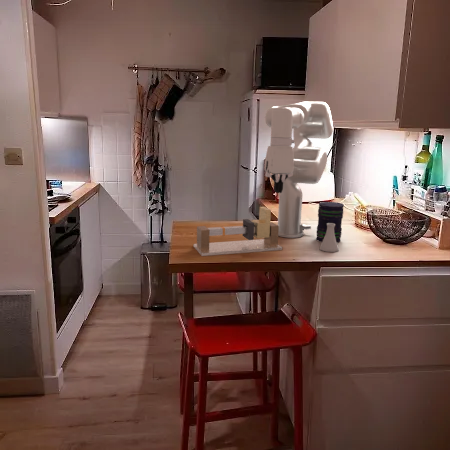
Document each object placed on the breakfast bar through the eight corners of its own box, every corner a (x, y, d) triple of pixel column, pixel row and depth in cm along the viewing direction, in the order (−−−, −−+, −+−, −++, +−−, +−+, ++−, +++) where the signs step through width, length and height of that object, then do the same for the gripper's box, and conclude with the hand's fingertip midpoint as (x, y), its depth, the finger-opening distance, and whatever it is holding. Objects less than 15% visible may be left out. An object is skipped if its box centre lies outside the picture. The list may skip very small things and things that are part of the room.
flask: (335, 253, 162) (337, 227, 160) (316, 250, 166) (318, 224, 163) (341, 249, 168) (343, 223, 166) (323, 245, 172) (325, 220, 169)
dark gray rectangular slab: (247, 235, 169) (247, 219, 168) (253, 239, 163) (254, 222, 162) (242, 235, 169) (243, 219, 167) (248, 240, 163) (249, 223, 161)
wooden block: (263, 233, 171) (264, 206, 169) (269, 237, 166) (270, 209, 163) (251, 234, 170) (252, 207, 167) (257, 238, 164) (258, 210, 161)
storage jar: (334, 236, 186) (337, 201, 182) (345, 242, 176) (348, 206, 173) (312, 237, 184) (314, 201, 180) (322, 243, 174) (324, 206, 171)
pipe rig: (269, 241, 176) (270, 220, 174) (282, 249, 165) (283, 227, 163) (193, 246, 166) (193, 224, 164) (201, 256, 155) (202, 232, 153)
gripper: (294, 142, 167) (291, 190, 171) (257, 141, 162) (255, 191, 167) (304, 143, 160) (300, 193, 164) (266, 143, 155) (263, 194, 160)
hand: (278, 192), depth 165 cm, fingers closed
